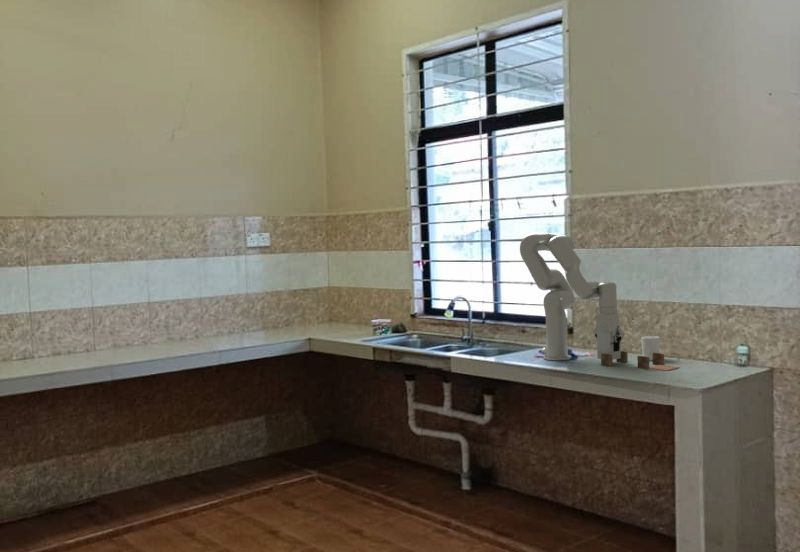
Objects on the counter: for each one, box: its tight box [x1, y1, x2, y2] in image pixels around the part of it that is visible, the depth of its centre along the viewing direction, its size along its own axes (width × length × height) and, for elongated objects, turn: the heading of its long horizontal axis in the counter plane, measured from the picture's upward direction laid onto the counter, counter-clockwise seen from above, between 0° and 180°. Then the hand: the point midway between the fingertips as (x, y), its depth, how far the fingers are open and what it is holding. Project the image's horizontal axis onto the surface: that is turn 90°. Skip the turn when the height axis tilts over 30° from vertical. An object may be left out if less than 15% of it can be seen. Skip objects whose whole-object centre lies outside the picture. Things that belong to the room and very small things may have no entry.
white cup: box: [640, 335, 661, 361], centre depth 341 cm, size 8×8×10 cm
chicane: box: [600, 350, 665, 370], centre depth 328 cm, size 20×17×5 cm
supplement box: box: [596, 331, 622, 361], centre depth 335 cm, size 7×7×13 cm
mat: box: [649, 364, 680, 372], centre depth 319 cm, size 9×9×1 cm
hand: (608, 349), depth 335 cm, fingers closed on supplement box, 7 cm apart
